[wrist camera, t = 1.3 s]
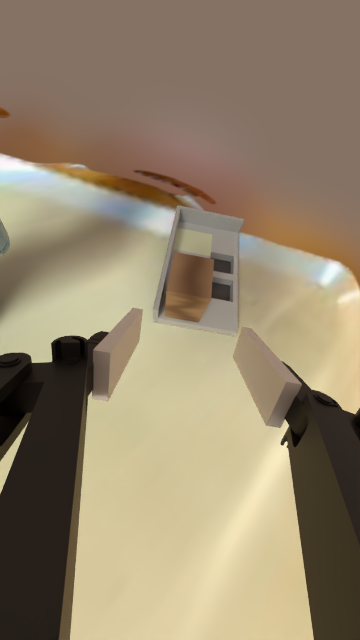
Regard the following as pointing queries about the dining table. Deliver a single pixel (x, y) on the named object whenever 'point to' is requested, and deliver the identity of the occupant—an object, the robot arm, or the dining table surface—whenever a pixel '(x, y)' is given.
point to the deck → (221, 245)
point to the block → (189, 287)
